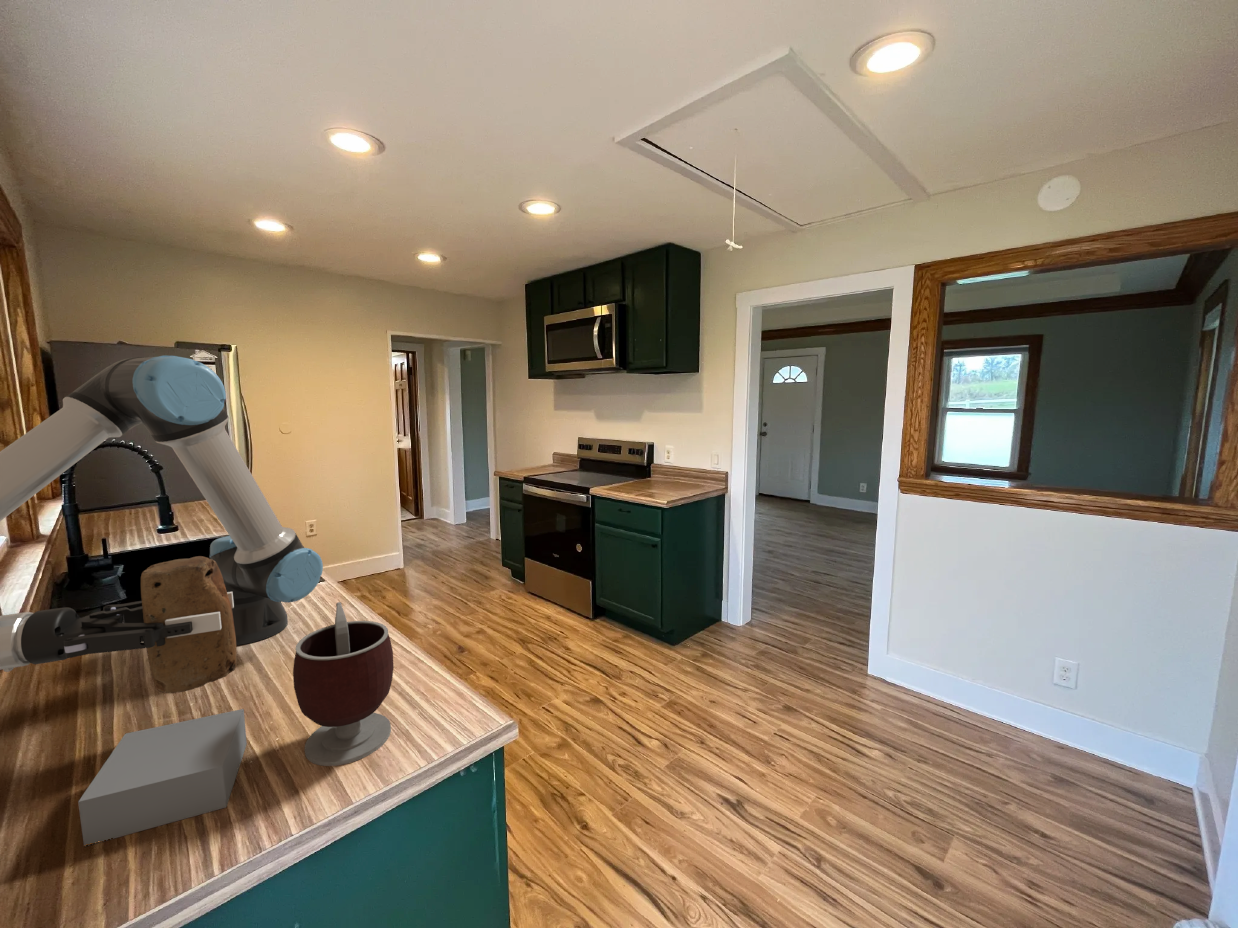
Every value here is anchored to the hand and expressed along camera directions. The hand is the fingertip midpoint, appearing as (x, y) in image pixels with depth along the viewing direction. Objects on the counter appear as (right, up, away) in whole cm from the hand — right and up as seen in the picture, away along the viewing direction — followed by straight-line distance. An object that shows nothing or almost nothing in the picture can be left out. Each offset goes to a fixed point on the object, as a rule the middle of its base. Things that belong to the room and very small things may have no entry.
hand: (226, 609), depth 84 cm
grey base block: (+2, -21, -12) cm, 25 cm away
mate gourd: (+20, -20, -1) cm, 29 cm away
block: (-4, -11, 0) cm, 12 cm away
